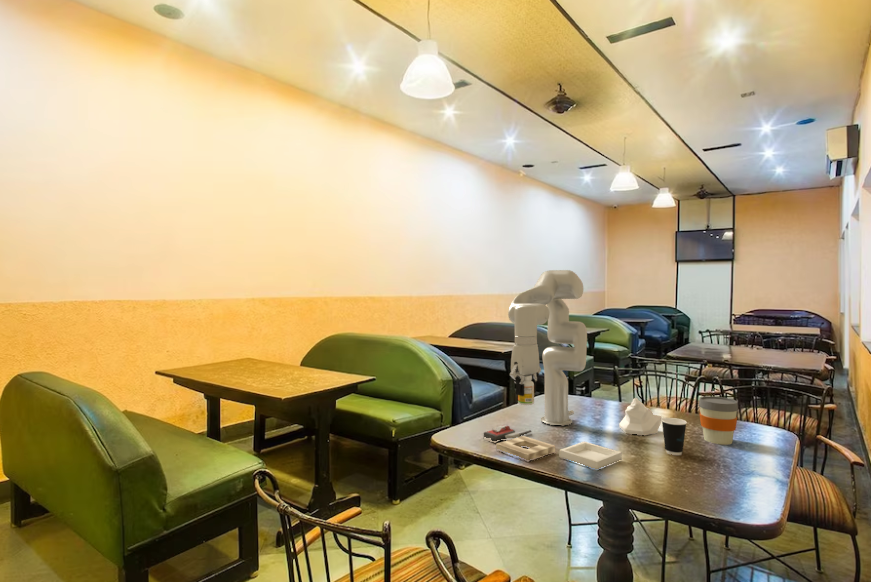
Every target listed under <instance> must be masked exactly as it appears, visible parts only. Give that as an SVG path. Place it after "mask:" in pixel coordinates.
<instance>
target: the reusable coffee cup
mask: <svg viewBox="0 0 871 582" xmlns="http://www.w3.org/2000/svg"><path fill="white" fill-rule="evenodd" d="M698 407H699V411H700V412H699V414H698V415H699V420H700V421H699V422H700V425H701V427H702V433H703V439H704V441H705V442H708V443H710V442H711V444H715V445H716V444H717V445H731V444H733V441H734V440H733V439H734V433H735V431H736V428H737V423H738V416H737V412H738V411H739V405H738V401H737V400H735V399H733V398H728V397H722V396H714V395H713V396H712V395H711V396H705V395H704V396H700V397H699V400H698Z"/></svg>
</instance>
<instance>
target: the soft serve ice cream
mask: <svg viewBox="0 0 871 582" xmlns="http://www.w3.org/2000/svg"><path fill="white" fill-rule="evenodd" d="M624 413H625V415H624V416H623V419H621V421H620V422H619V424H618V426H619V429H620V428H621V429H622V430H623V431H624V432H625V433H630V434H629V435H632V434H637V435H636V436H642V435H644V436H647V435H654V434H655V433H656V434H658V431H659V429H660V427H661V424H662V421H661V419H662V415H657V414H654V412H653V410H651V409H650V408H649V407H646V406H645V404H644V403H642V402H641V401H640V400H639V398H637V397H634V398H633V399H632V401H631V404H630V405H628V406H627V407H626V409H625V410H624ZM621 429H620V430H621ZM622 430H621V431H622ZM623 431H622V432H623ZM624 432H623V433H624ZM625 433H624V434H625Z"/></svg>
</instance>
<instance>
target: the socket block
mask: <svg viewBox="0 0 871 582" xmlns="http://www.w3.org/2000/svg"><path fill="white" fill-rule="evenodd" d="M495 445H496V447H495V448H497V449H500V450H502V451H505V452H508V453H510V454H513V455H516V456H519V457H521V458H524V459H526V460H530V459H533V458H536V457H540V456H543V455H546V454H549V453H552V452H555V453H556V445H554V444H550V443H548V442H545V441H541V440H539V439H535V438H532V437H528V436H526V435H522V436H520V437H518V438H514V439H511V440H507V441H501V442H498V443H495ZM521 446H527V447H530V448H529V449H527V448H522V447H521Z"/></svg>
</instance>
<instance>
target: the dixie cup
mask: <svg viewBox="0 0 871 582" xmlns="http://www.w3.org/2000/svg"><path fill="white" fill-rule="evenodd" d="M661 424H662V433H663V440H664V441H663V443H664V449H665V452H667V453H666V454H668V455H671V454H672V456H682V454H683V451H684V445H685V436H686V435H685V434H686V429H687V424H688V422H687V421H686V420H685V419H682V418H678V417H677V418H676V417H663V418H662V419H661Z"/></svg>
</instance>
